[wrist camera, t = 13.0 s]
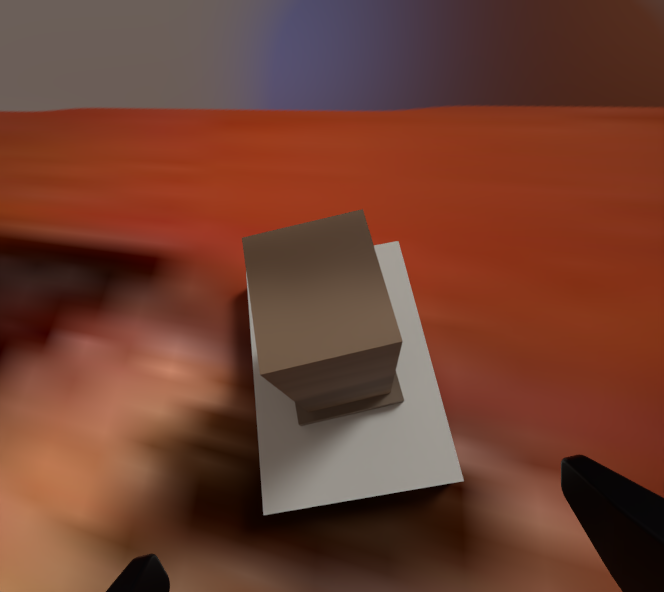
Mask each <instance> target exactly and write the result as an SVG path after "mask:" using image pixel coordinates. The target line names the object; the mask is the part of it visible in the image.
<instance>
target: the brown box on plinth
mask: <svg viewBox="0 0 664 592" xmlns="http://www.w3.org/2000/svg"><path fill="white" fill-rule="evenodd" d="M242 242H243V249H244V257H245V265H246V272H247V280H248V288H249V295H250V303H251V311H252V318H253V326H254V333H255V341H256V349H257V356H258V364H259V372H260V375H261V376H262V377H263V378H265V379H266V380H267V381H269V382H270V383H271V384H272V385H274V386H275V387H276V388H277V389H279V390H280V391H281V392H283V393H284V394H285V395H286V396H288V397H289V398H290V399H292V400H293V401H294V402H295V406H296V412H297V418H298V424H299V425H300V426H304V425H308V424H313V423H317V422H321V421H326V420H330V419H334V418H338V417H343V416H347V415H351V414H356V413H360V412H364V411H368V410H373V409H377V408H381V407H385V406H390V405H394V404H398V403H403V402H404V398H403V394H402V391H401V387H400V384H399V380H398V377H397V373H396V367H397V363H398V359H399V355H400V350H401V346H402V342H403V341H402V337H401V334H400V331H399V328H398V324H397V321H396V318H395V314H394V311H393V308H392V304H391V301H390V298H389V295H388V291H387V288H386V285H385V281H384V278H383V275H382V272H381V268H380V265H379V262H378V258H377V255H376V252H375V248H374V245H373V242H372V239H371V235H370V232H369V229H368V225H367V222H366V219H365V216H364V212H363V209H362V210H358V211H353V212H349V213H345V214H341V215H337V216H332V217H328V218H324V219H320V220H315V221H311V222H307V223H303V224H299V225H294V226H290V227H286V228H282V229H277V230H273V231H269V232H265V233H261V234H256V235H252V236H248V237H244V238H242Z"/></svg>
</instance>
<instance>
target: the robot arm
mask: <svg viewBox="0 0 664 592" xmlns="http://www.w3.org/2000/svg"><path fill="white" fill-rule="evenodd" d="M561 487H562V491H563V494H564V496H565V498H566V500H567V502H568V503H569V505H570V507H571V508H572V510H573V512H574V513H575V515H576V517H577V518H578V520H579V522H580V524H581V525H582V527H583V529H584V530H585V532H586V534H587V535H588V537H589V539H590V540H591V542H592V544H593V546H594V547H595V549H596V551H597V552H598V554H599V556H600V557H601V559H602V561H603V562H604V564H605V566H606V567H607V569H608V570H609V572H610V574H611V575H612V577H613V578H614V580H615V581H616V583H617V584H618V586H619V587H620V588H621V590H622V591H623V592H664V498H663V497H661V496H659V495H657V494H655V493H653V492H652V491H650V490H648V489H646V488H644V487H642V486H640V485H639V484H637V483H635V482H633V481H631V480H629V479H627V478H625V477H624V476H622V475H620V474H618V473H616V472H614V471H612V470H610V469H609V468H607V467H605V466H603V465H601V464H599V463H597V462H596V461H594V460H592V459H590V458H588V457H586V456H583V455H575V456H570V457H566V458H563V460H562V461H561ZM169 590H170V582H169V577H168V575H167V573H166V571H165V570H164V568H163V566H162V564H161V563H160V561H159V559H158V557H157V556H156V555H155V554H147V555H143V556H139V557H136V558H134V559H133V560H132V561H131V562H130V563H129V564H128V566H127V567H126V568H125V569H124V570H123V572H122V573H121V574H120V575H119V576H118V578H117V579H116V580H115V581H114V582H113V584H112V585H111V586H110V587H109V588H108V590H107V591H106V592H169Z"/></svg>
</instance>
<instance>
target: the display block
mask: <svg viewBox="0 0 664 592" xmlns="http://www.w3.org/2000/svg"><path fill="white" fill-rule="evenodd" d="M374 248H375V252H376V255H377V258H378V262H379V265H380V268H381V272H382V275H383V278H384V281H385V285H386V288H387V291H388V295H389V298H390V301H391V304H392V308H393V311H394V314H395V318H396V321H397V324H398V328H399V331H400V334H401V337H402V341H403V342H402V346H401V350H400V355H399V359H398V363H397V367H396V373H397V377H398V380H399V384H400V387H401V391H402V394H403V398H404V402H403V403H398V404H394V405H390V406H385V407H381V408H377V409H373V410H368V411H364V412H360V413H356V414H351V415H347V416H343V417H338V418H334V419H330V420H326V421H321V422H317V423H313V424H308V425H304V426H300V425H299V424H298V418H297V412H296V406H295V402H294V401H293V400H292V399H290V398H289V397H288V396H286V395H285V394H284V393H283V392H281V391H280V390H279V389H277V388H276V387H275V386H274V385H272V384H271V383H270V382H269V381H267V380H266V379H265V378H263V377H262V376H261V375H260V372H259V364H258V356H257V349H256V341H255V333H254V326H253V318H252V311H251V303H250V295H249V288H248V280H247V290H248V304H249V318H250V332H251V346H252V360H253V375H254V389H255V403H256V417H257V431H258V445H259V459H260V473H261V487H262V501H263V515H268V514H274V513H280V512H286V511H292V510H298V509H303V508H309V507H315V506H321V505H327V504H333V503H338V502H344V501H350V500H356V499H362V498H368V497H373V496H379V495H385V494H391V493H397V492H403V491H408V490H414V489H420V488H426V487H432V486H438V485H443V484H449V483H455V482H461V481H464V480H463V476H462V473H461V469H460V465H459V462H458V458H457V454H456V451H455V447H454V443H453V440H452V436H451V432H450V429H449V425H448V421H447V418H446V414H445V410H444V407H443V403H442V399H441V396H440V392H439V388H438V385H437V381H436V377H435V374H434V370H433V366H432V363H431V359H430V355H429V352H428V348H427V344H426V341H425V337H424V333H423V330H422V326H421V322H420V319H419V315H418V311H417V308H416V304H415V300H414V297H413V293H412V289H411V286H410V282H409V278H408V275H407V271H406V267H405V264H404V260H403V256H402V253H401V249H400V245H399V242H398V241H396V242H391V243H386V244H380V245H375V246H374ZM246 276H247V272H246Z"/></svg>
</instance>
